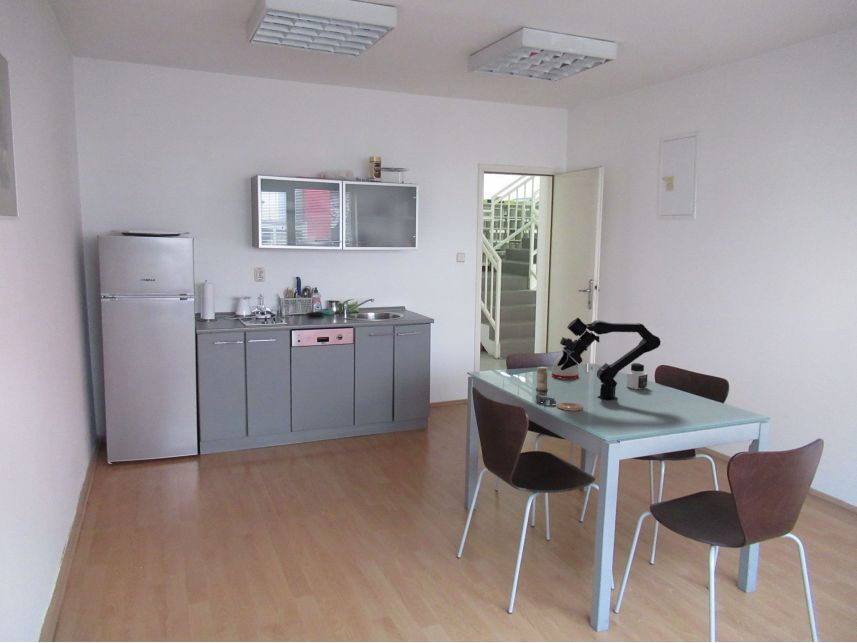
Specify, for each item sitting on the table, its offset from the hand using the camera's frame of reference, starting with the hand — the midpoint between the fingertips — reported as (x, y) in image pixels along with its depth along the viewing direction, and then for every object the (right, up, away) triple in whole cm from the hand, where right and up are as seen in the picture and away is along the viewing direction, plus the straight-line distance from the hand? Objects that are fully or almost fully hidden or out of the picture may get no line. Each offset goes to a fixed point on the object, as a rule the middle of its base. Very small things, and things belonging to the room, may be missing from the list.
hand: (559, 367), depth 293 cm
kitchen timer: (+12, -8, +47) cm, 49 cm away
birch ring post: (-7, -13, +6) cm, 16 cm away
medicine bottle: (+42, -12, +22) cm, 49 cm away
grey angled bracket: (-8, -15, -7) cm, 18 cm away
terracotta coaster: (+1, -16, -16) cm, 23 cm away
